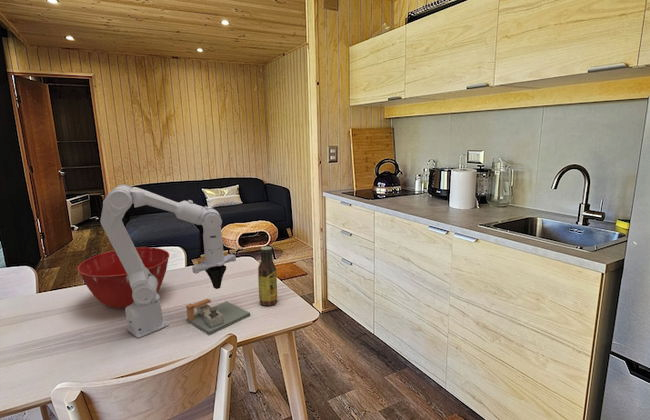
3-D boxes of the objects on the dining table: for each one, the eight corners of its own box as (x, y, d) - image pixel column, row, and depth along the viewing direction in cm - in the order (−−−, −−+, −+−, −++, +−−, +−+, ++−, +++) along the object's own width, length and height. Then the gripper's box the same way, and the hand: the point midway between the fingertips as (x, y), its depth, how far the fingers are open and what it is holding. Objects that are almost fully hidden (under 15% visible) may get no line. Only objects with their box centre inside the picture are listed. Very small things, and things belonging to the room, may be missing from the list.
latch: (224, 322, 114) (223, 314, 114) (210, 327, 111) (209, 319, 111) (207, 308, 123) (207, 302, 122) (194, 313, 120) (194, 306, 119)
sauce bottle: (274, 307, 126) (271, 251, 121) (256, 306, 127) (253, 250, 123) (280, 298, 132) (277, 245, 128) (263, 297, 133) (260, 244, 129)
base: (209, 335, 109) (207, 317, 108) (186, 320, 118) (184, 304, 116) (250, 315, 120) (249, 299, 119) (226, 303, 129) (225, 288, 127)
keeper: (190, 320, 116) (189, 306, 115) (187, 318, 117) (186, 305, 116) (211, 311, 121) (210, 298, 120) (208, 309, 123) (207, 296, 122)
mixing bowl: (187, 284, 145) (183, 247, 142) (146, 321, 118) (140, 276, 114) (119, 282, 148) (114, 246, 145) (63, 318, 121) (55, 274, 117)
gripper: (199, 256, 109) (203, 299, 112) (240, 244, 119) (242, 283, 122) (187, 251, 113) (191, 292, 116) (227, 240, 124) (230, 278, 127)
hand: (216, 287), depth 119 cm, fingers closed
